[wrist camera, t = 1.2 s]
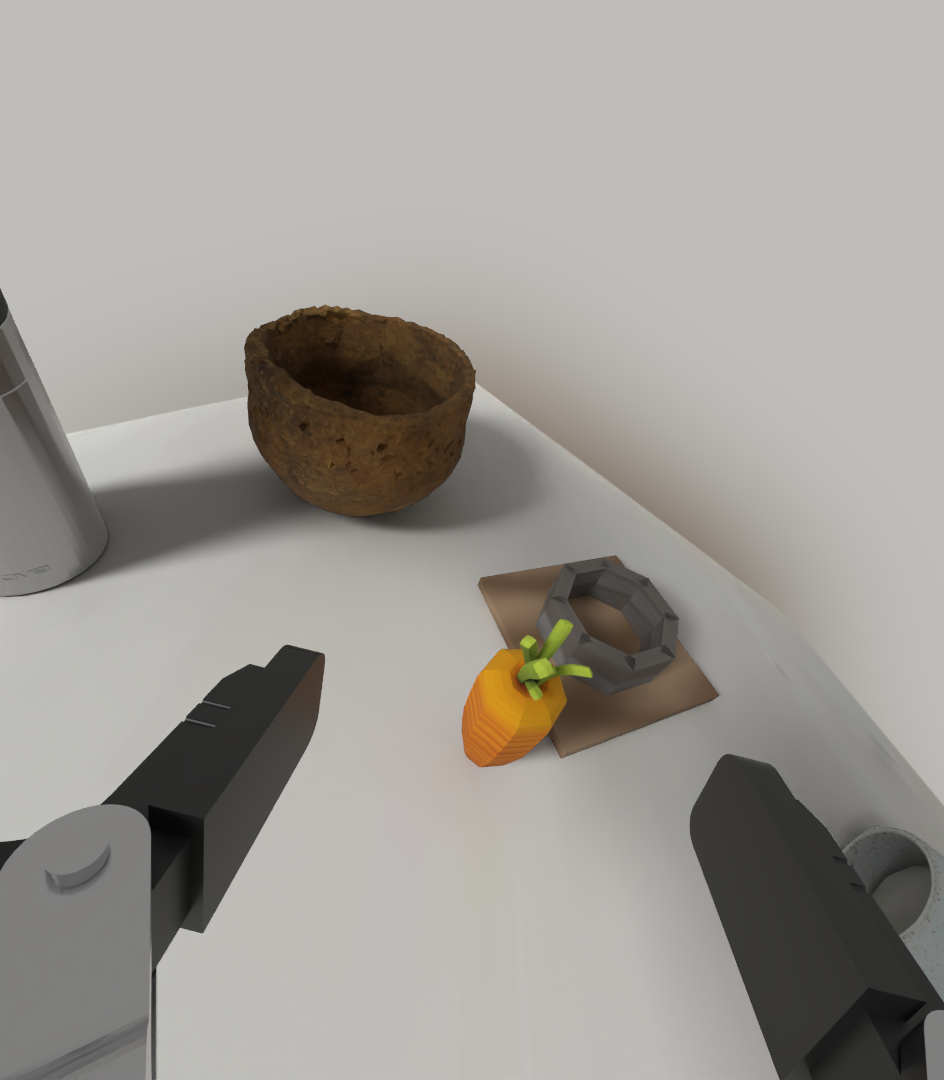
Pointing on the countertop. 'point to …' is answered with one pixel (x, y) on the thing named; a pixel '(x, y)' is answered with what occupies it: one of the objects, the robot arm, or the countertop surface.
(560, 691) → the carrot
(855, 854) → the ceramic mug
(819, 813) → the countertop surface
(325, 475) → the bowl
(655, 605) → the ring holder
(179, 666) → the countertop surface
